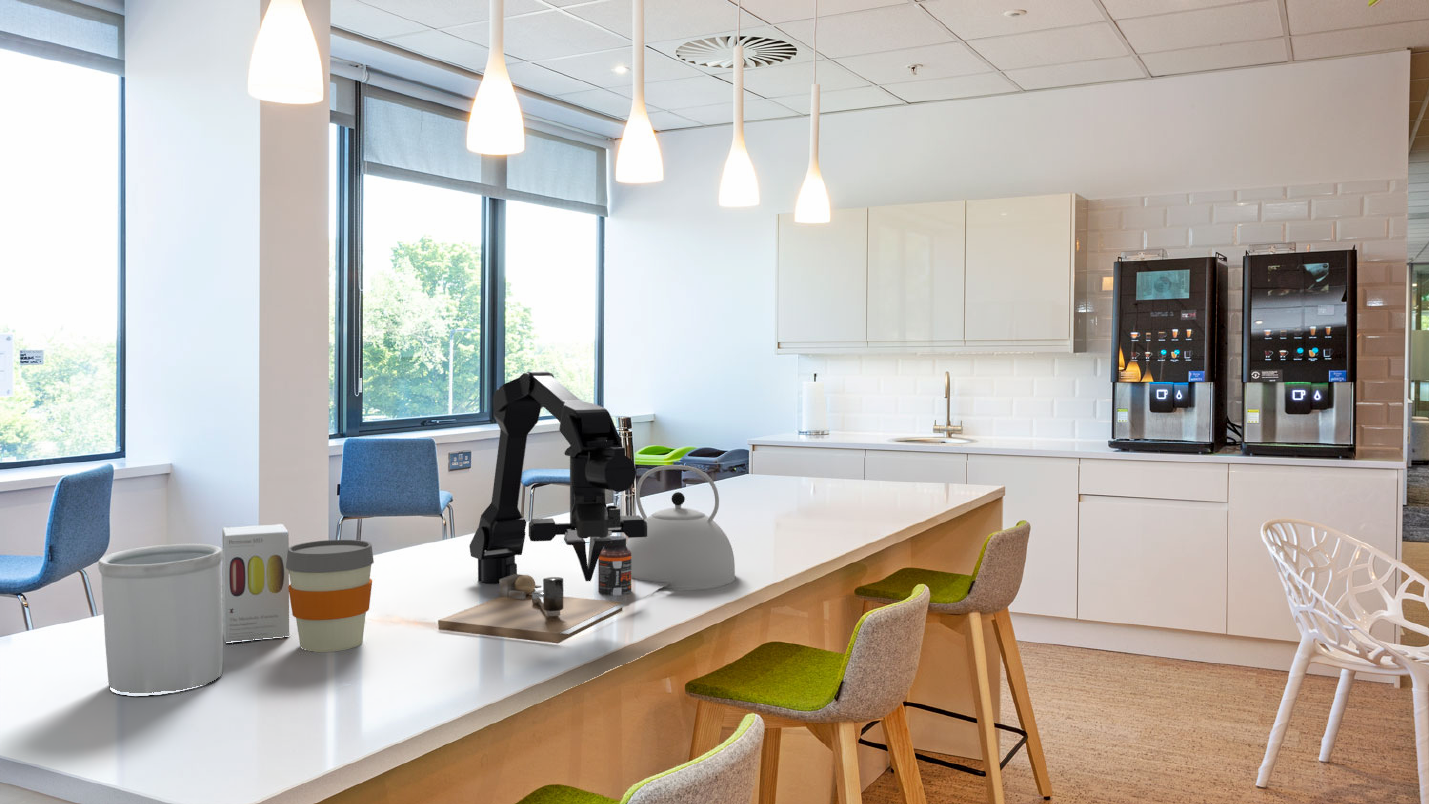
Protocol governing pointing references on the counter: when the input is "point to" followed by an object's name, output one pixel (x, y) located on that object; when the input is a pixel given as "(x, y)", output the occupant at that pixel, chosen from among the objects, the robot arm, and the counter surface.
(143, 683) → the utensil holder
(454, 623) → the base
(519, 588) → the nut
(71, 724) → the counter surface
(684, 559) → the kettle
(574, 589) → the counter surface
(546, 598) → the lever
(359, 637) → the reusable coffee cup
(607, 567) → the supplement bottle
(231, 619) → the supplement box
